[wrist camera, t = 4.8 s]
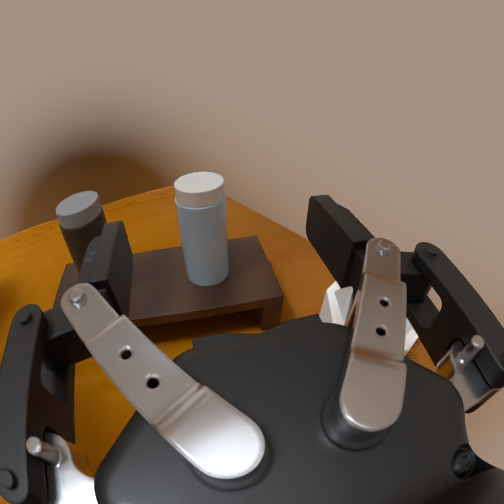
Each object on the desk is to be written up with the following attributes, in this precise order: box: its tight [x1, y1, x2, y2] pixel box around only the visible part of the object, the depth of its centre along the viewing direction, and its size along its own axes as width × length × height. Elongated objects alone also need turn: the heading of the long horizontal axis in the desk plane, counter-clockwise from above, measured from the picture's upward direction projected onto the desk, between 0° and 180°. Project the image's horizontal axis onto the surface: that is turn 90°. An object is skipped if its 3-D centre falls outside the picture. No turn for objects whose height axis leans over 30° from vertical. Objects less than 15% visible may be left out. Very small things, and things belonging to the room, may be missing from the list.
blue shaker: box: [174, 172, 229, 286], centre depth 26 cm, size 4×4×10 cm
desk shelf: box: [53, 236, 284, 330], centre depth 30 cm, size 24×10×5 cm, turn 104°
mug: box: [319, 281, 418, 357], centre depth 23 cm, size 12×9×10 cm
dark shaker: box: [56, 191, 107, 272], centre depth 24 cm, size 4×4×10 cm
